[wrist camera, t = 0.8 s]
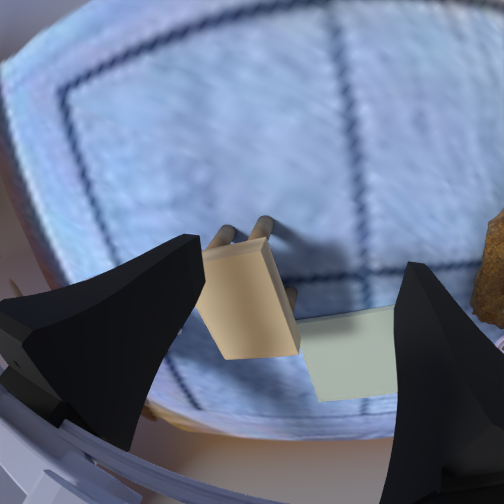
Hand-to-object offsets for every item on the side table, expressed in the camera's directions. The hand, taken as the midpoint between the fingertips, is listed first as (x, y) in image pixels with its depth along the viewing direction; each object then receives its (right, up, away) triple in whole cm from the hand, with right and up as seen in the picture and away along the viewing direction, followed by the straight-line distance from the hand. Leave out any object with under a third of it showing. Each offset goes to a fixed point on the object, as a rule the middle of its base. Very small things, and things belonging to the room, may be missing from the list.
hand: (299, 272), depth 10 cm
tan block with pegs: (-1, 0, +14) cm, 14 cm away
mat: (+8, -9, +16) cm, 21 cm away
